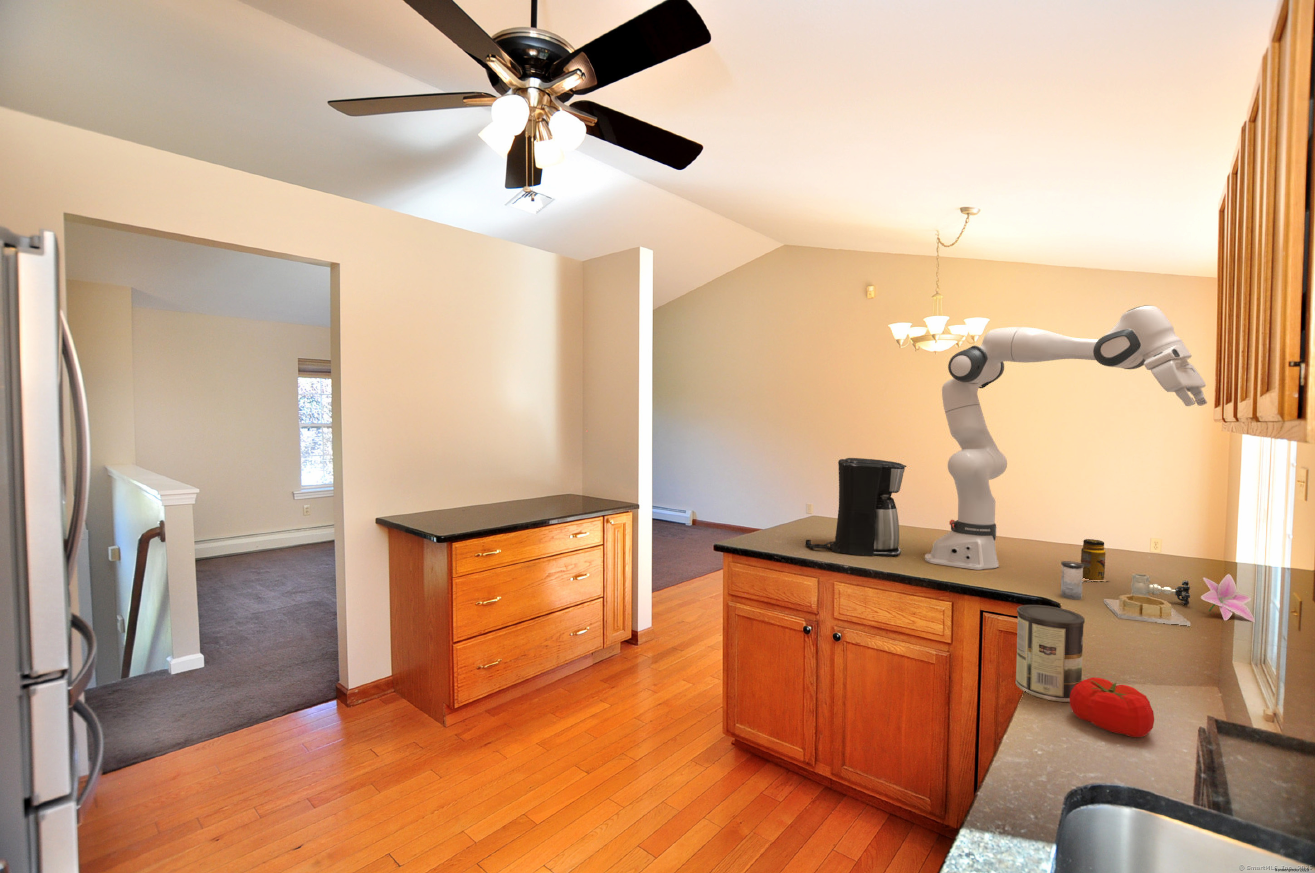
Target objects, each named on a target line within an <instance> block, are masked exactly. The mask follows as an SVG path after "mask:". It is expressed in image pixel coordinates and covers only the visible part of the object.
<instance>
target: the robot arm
mask: <svg viewBox="0 0 1315 873" xmlns="http://www.w3.org/2000/svg"><path fill="white" fill-rule="evenodd" d="M1190 358H1192V354H1191V353H1190V351H1189V349H1188V348H1187V346H1186V345H1185V343H1184V342H1183V340H1182V339H1181V338H1180V337H1179V336H1178V335H1177V334H1176V332H1175V330H1174V326H1173V324H1172V323H1171V322H1170V320H1169V319H1168V317H1167V316H1166V315H1165V314H1164V312H1163V311H1162V310H1161V309H1160V308H1159V307H1157V306H1155V305H1149V304H1146V305H1145V304H1144V305H1141V306H1136V307H1134V308H1130V309H1128V310H1127V311H1126V312H1124V313H1122V314H1121V317H1120V318H1119V321H1118V322H1116V324H1115V325H1114V327H1112V328H1111V330H1109V331H1107V333H1106V334H1104V335H1103V336H1101V337H1100V338H1099V339H1098V338H1097V339H1096V338H1079V337H1072V336H1067V335H1064V334H1060V333H1057V332H1054V331H1051V330H1046V329H1042V328H1036V327H1029V326H1009V327H1008V326H1007V327H999V328H993V329H991V330H989V331H988V332H987V333H986V334H985V335H984V337H983V339H982V342H981V344H980V345H979V346H978V345H972V346H970V347H968V348H966V349H963V350H961V351H958V352H956V353H955V354H954V355H952V357H951V358H950V360H949V361H948V364H947V369H948V370H947V371H948V373H949V375H950V376H951V377H952V378H951V379H949V380H947V381H945V383H944V384H942V388H941V398H942V404H943V410H944V414H945V417H946V421H947V425H948V429H949V433H950V435H951V437H952V439H954V440H955V442H957V443H958V445H959V447H960V448H961V450H959V451H956V452H955V453H953V454H952V455H951V456H950V457H949V458H948V460H947V470H948V472H949V474H950V475H951V477H952V478H953V481H954V485H955V489H956V493H957V520H955V519H950V520H949V525H950V531H948V532H947V533H945V534H943V535H942V536H940V537H939V538H937V539H936V540H935V541H934V542H933V545H932V548H931V552H927V553H926V554H925V555H924V560H925V561H926V562H927V563H930V564H935V565H941V566H947V567H956V568H963V569H971V570H976V571H977V570H978V571H979V570H986V569H996V568H998V567H1000V564H999V561H998V556H997V549H996V540H997V524H996V498H995V497H994V496H993V494H992V491H991V487H990V480H994V479H996V478H998V477H1000V476H1001V475H1003V474H1004V473H1005V472H1006V470H1007V468H1008V460H1007V457H1006V456H1005V454H1004V453H1003V452H1001V451H1000V449H999V448H998V446H997V444H996V442H995V441H994V439H993V436H992V435H991V434H990V431H989V429H988V426H987V424H986V420H985V417H984V413H983V411H982V405H981V402H980V400H979V399H980V398H979V396H978V391H979V389H985V387H987V386H989V385H990V384H991V383H993V382H996V381H997V380H998V379H999V378H1001V376H1002V375H1003V374H1004V371H1005V363H1004V362H1011V363H1012V362H1013V363H1022V364H1023V363H1025V364H1026V363H1040V362H1041V363H1042V362H1049V361H1057V360H1058V361H1060V360H1071V359H1072V360H1087V361H1096V362H1097V363H1099V364H1100V365H1102V366H1105V367H1109V368H1118V369H1119V368H1120V369H1124V370H1136V369H1139V368H1141V367H1143V366H1144V367H1145V369H1146V370H1148V371H1150V372H1151V374H1152V375H1153V376H1154V379H1156V381H1157V382H1158V384H1159V385H1160V386H1161V387H1162V389H1163V390H1164V391H1166V392H1167V393H1175V395H1176V397H1178V398H1179V399H1180V400H1181V401H1182V403H1183V404H1184V406H1185V407H1191V406H1194V405H1195V404H1197V406H1204V405H1207V404H1208V401H1207V399H1206V398H1205V394H1204V391H1203V388H1205V387H1206V386H1207V385H1206V382H1205V381H1204V379H1203V377H1202V376H1201V374H1200V373H1199V372H1198V370H1197V369H1196V368H1195V366H1194V365H1193V364H1192V363H1191V362H1189V359H1190ZM1190 394H1191V395H1192V397H1191V395H1190Z"/></svg>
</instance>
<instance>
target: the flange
mask: <svg viewBox="0 0 1315 873" xmlns="http://www.w3.org/2000/svg"><path fill="white" fill-rule="evenodd" d="M1118 598H1119V599H1110V598H1103V603H1104V604H1105V605H1106V606H1107V607H1108V608H1109V610H1110V611H1111V612H1112V613H1113V614H1114V615H1115V617H1117V618H1118V619H1124V620H1130V621H1131V620H1132V621H1141V622H1149V623H1155V622H1157V623H1156V624H1163V623H1165V624H1164V625H1171V624H1179V625H1178V626H1180V625H1187V626H1186V627H1188V626H1190V627H1191V622H1190V621H1189V620H1188V619H1187V618H1185V617H1184V616H1183V615H1182V614H1180V613H1179V612H1178V611H1177V610H1175V609H1174V608H1173V607H1172V605H1173V604H1171V603H1170V602H1168V601H1166V600H1165V599H1164V600H1163V599H1160V598H1156V597H1151V596H1149V597H1147V596H1140V595H1131V594H1122V595H1119V597H1118Z"/></svg>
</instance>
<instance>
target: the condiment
mask: <svg viewBox="0 0 1315 873" xmlns="http://www.w3.org/2000/svg"><path fill="white" fill-rule="evenodd" d="M1082 542H1083V545H1082V548H1080V549H1081V553H1080V554H1081V556H1080V563H1082V564H1084V567H1083V578H1085V579H1089V580H1104V579H1105V572H1106V570H1105V569H1106V550H1105V542H1104V541H1102V540H1099V539H1094V538H1093V539H1092V538H1085V539H1083V540H1082Z"/></svg>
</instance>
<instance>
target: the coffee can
mask: <svg viewBox="0 0 1315 873" xmlns="http://www.w3.org/2000/svg"><path fill="white" fill-rule="evenodd" d="M1016 613H1017V630H1016V631H1017V633H1016V634H1017V636H1016V671H1015V672H1016V673H1015V684H1016V686H1017V688H1018V689H1020V690H1021V691H1023V692H1025V691H1026V692H1025V693H1026V694H1029V695H1031V696H1033V697H1036V698H1039V699H1043V700H1047V701H1051V702H1052V701H1053V702H1061V703H1062V702H1063V703H1070V700H1069V698H1070V694H1071V691H1072V689H1073V688H1074V686H1075V685H1076V684H1078V683H1080V682H1081V681H1083V678H1082V676H1083V649H1084V648H1083V647H1084V646H1083V645H1084V644H1083V643H1084V624H1085V617H1084V616H1083V615H1081V614H1079V613H1077V612H1075V611H1073V610H1070V609H1064V608H1061V607H1057V606H1051V605H1042V604H1024V605H1019V606H1018V607H1017V608H1016Z"/></svg>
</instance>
